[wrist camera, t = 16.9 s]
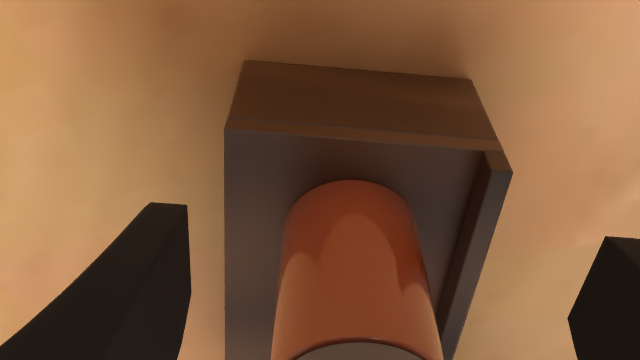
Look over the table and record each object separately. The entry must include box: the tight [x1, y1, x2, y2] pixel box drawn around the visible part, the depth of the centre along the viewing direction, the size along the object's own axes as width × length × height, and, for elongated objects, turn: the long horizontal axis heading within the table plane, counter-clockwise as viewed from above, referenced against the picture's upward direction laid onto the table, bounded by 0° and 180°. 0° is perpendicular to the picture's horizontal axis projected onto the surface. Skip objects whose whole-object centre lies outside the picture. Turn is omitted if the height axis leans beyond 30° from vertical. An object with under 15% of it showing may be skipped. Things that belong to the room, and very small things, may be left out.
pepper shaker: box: [270, 180, 444, 360], centre depth 15 cm, size 4×4×6 cm
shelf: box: [224, 61, 513, 360], centre depth 22 cm, size 15×8×6 cm, turn 175°
